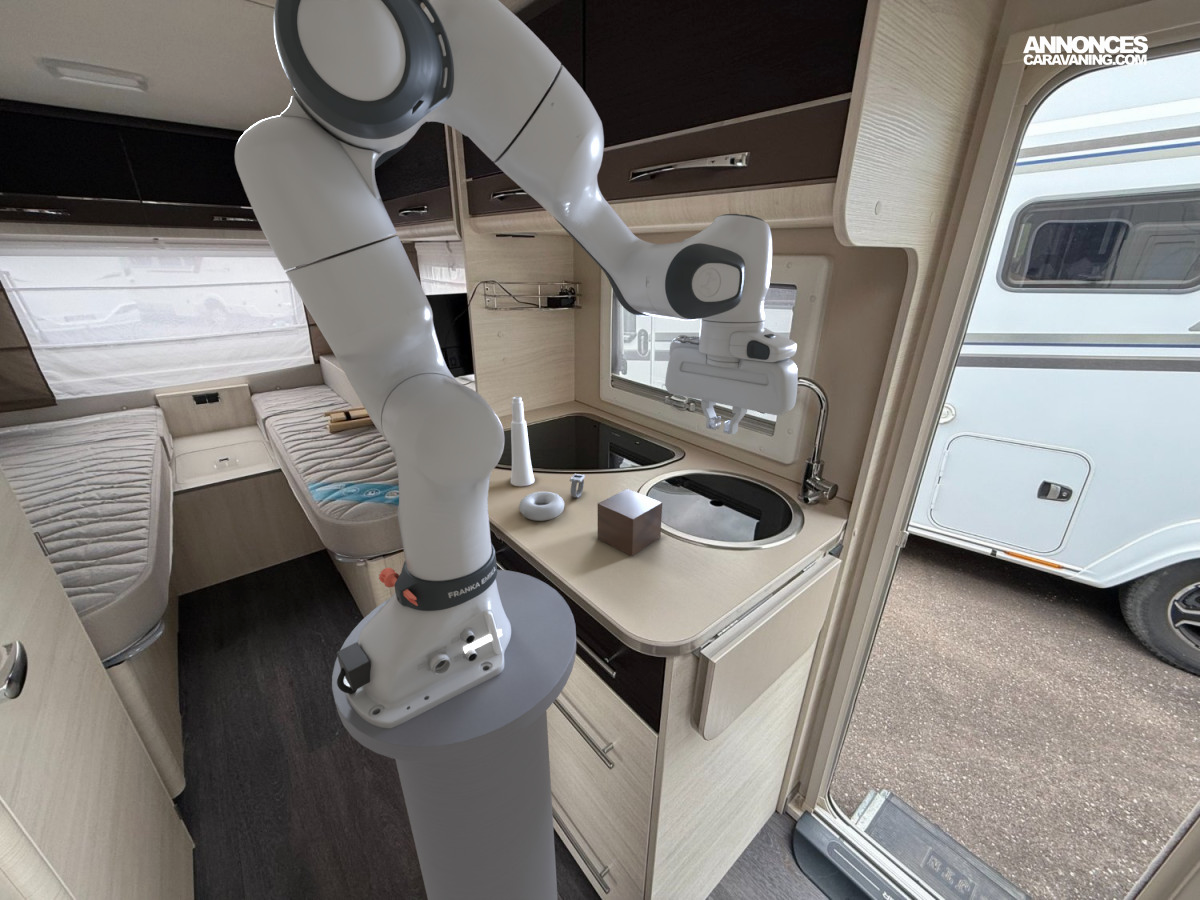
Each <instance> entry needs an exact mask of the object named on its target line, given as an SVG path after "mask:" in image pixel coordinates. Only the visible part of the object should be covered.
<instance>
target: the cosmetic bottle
mask: <svg viewBox="0 0 1200 900" xmlns="http://www.w3.org/2000/svg"><path fill="white" fill-rule="evenodd" d="M511 398H512V399H511V400H512V401H511V403H510V404H511V416H512V420H511V421H510V437H511V438H510V440H511V441H510V442H511V443H510V445H511V474H510V484H511V485H512V486H515V487H527V486H531V485H532V484H534V483H535V476H534V472H533V466H532V460H531V451H530V445H529V444H530V443H529V436H528V435H529V434H528V427H527V421H526V420H525V412H524V411H525V410H524V402H523V400H522V396H513V397H511Z"/></svg>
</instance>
